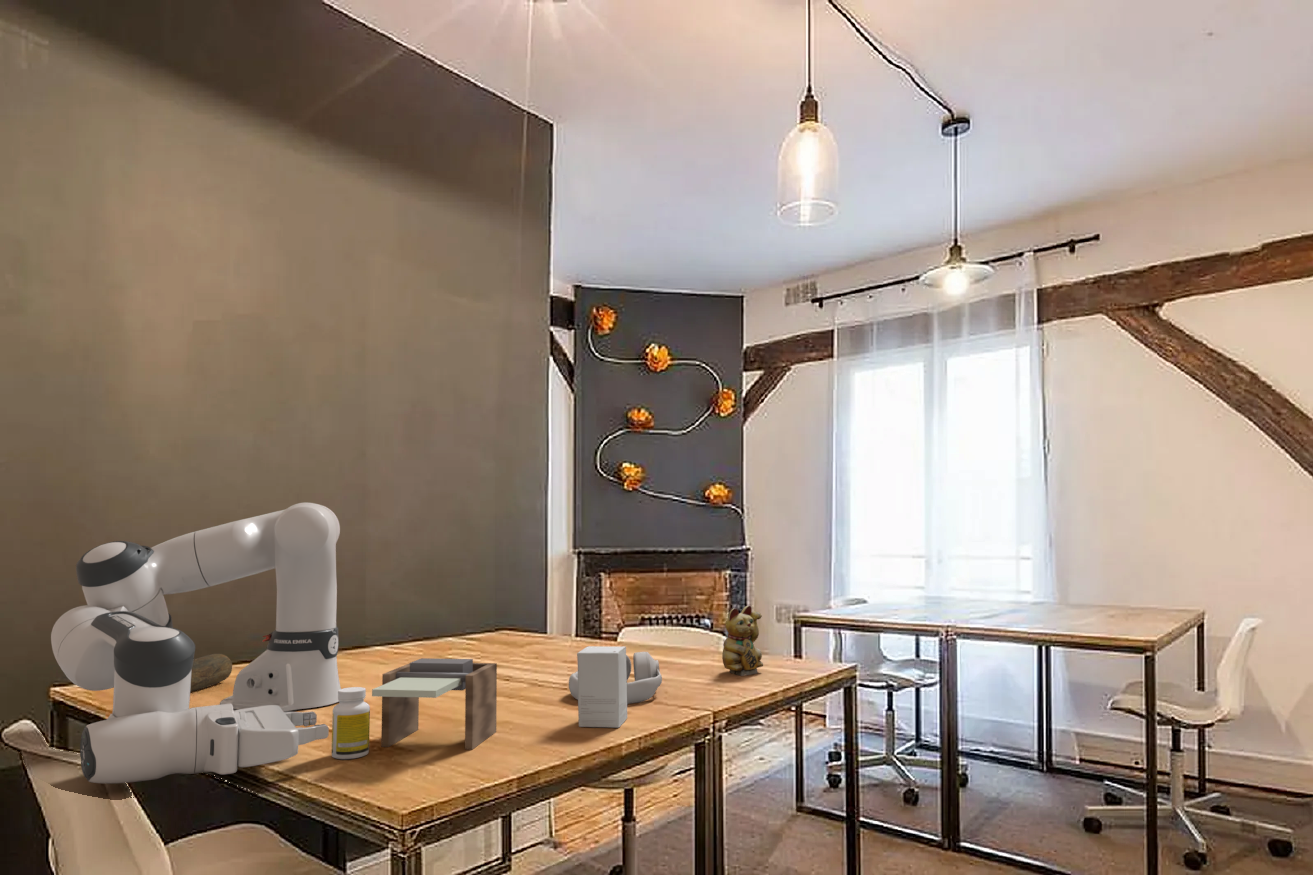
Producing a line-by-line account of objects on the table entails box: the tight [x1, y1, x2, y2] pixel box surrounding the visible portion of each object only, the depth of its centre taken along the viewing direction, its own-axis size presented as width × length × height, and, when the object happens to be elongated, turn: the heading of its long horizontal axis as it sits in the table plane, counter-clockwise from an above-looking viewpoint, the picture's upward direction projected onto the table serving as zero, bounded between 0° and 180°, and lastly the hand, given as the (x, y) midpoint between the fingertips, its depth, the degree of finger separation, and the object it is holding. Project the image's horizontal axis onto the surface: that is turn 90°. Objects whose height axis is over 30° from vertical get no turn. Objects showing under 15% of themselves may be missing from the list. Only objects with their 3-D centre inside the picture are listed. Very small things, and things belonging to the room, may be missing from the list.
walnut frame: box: [380, 662, 498, 751], centre depth 140 cm, size 11×15×11 cm
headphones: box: [568, 651, 663, 705], centre depth 172 cm, size 18×8×20 cm
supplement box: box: [576, 645, 628, 729], centre depth 149 cm, size 7×7×13 cm
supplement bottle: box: [331, 686, 371, 760], centre depth 131 cm, size 5×5×10 cm
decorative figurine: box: [721, 605, 764, 676], centre depth 194 cm, size 10×8×15 cm
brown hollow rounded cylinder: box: [190, 653, 233, 692], centre depth 184 cm, size 15×7×7 cm, turn 175°
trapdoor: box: [371, 657, 474, 699], centre depth 134 cm, size 16×12×4 cm
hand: (321, 724), depth 128 cm, fingers open, 8 cm apart
